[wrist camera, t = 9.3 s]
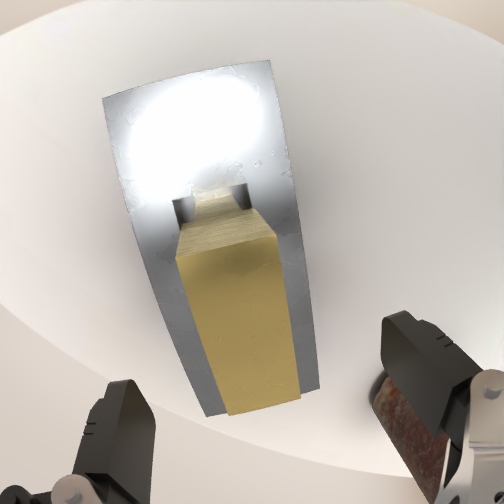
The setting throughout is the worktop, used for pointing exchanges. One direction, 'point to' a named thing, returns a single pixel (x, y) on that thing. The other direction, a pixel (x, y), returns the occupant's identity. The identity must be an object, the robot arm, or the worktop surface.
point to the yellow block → (239, 304)
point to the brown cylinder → (411, 439)
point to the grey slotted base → (209, 192)
